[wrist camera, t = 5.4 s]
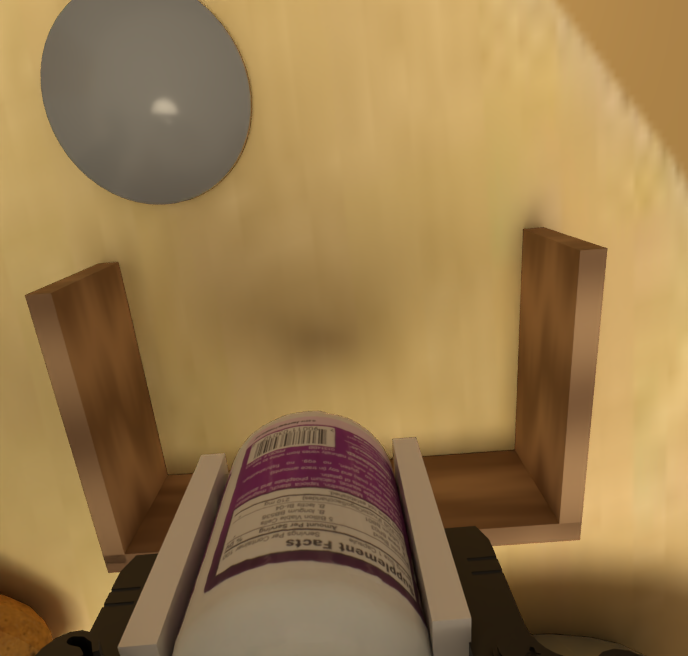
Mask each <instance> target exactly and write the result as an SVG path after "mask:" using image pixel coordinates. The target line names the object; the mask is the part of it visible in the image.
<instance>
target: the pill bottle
mask: <svg viewBox="0 0 688 656" xmlns="http://www.w3.org/2000/svg"><path fill="white" fill-rule="evenodd" d="M172 656H432V652H431V644H430V636H429V631H428V627H427V624H426V621H425V616H424V611H423V608H422V603H421V597H420V592H419V588H418V583H417V579H416V574H415V569H414V563H413V558H412V553H411V549H410V544H409V540H408V535H407V530H406V526H405V522H404V517H403V512H402V508H401V502H400V497H399V492H398V488H397V483H396V480H395V476H394V472H393V469H392V465H391V462H390V460H389V458H388V455H387V454H386V452H385V450H384V448H383V447H382V445H381V444H380V443H379V441H378V440H377V439H376V438H375V437H374V436H373V435H372V434H371V433H370V432H369V431H368V430H366V429H365V428H364V427H362V426H361V425H360V424H358V423H356V422H354V421H352V420H350V419H348V418H346V417H343V416H339V415H334V414H328V413H325V412H322V411H307V412H299V413H292V414H289V415H285V416H282V417H280V418H278V419H276V420H273V421H271V422H269V423H268V424H266V425H263V426H262V427H261V428H259V429H258V430H257V431H255V432H254V433H252V434H251V435H250V436H249V438H248V439H247V440H246V441H245V442H244V444H243V445H242V447H241V448H240V449H239V451H238V453H237V455H236V457H235V460H234V462H233V464H232V468H231V471H230V474H229V476H228V479H227V483H226V486H225V489H224V492H223V495H222V499H221V502H220V505H219V509H218V512H217V515H216V518H215V521H214V525H213V528H212V531H211V534H210V537H209V541H208V544H207V547H206V550H205V553H204V556H203V559H202V563H201V565H200V568H199V571H198V574H197V577H196V581H195V584H194V587H193V590H192V593H191V595H190V599H189V602H188V606H187V609H186V612H185V615H184V617H183V620H182V623H181V626H180V629H179V631H178V634H177V638H176V641H175V645H174V650H173V654H172Z"/></svg>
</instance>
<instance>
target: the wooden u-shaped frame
mask: <svg viewBox="0 0 688 656" xmlns="http://www.w3.org/2000/svg"><path fill="white" fill-rule="evenodd" d="M606 257H607V248H605V247H602V246H599V245H596V244H593V243H590V242H586V241H583V240H580V239H577V238H574V237H571V236H568V235H565V234H562V233H559V232H556V231H553V230H550V229H547V228H544V227H543V228H531V229H523V251H522V278H521V304H520V330H519V356H518V383H517V409H516V435H515V450H509V451H495V452H481V453H468V454H454V455H441V456H427V457H422V458H423V462H424V465H425V468H426V471H427V475H428V478H429V481H430V485H431V488H432V491H433V494H434V498H435V501H436V504H437V507H438V511H439V514H440V517H441V521H442V524H443V527H444V528H454V527H466V526H476V527H477V528H478V529H479V530H480V531H481V532H482V533H483V534H484V535H485V536H486V537H487V538H488V539H489V540H490V542H491V545H492V546H500V545H514V544H528V543H543V542H557V541H571V540H580V534H581V523H582V512H583V502H584V491H585V480H586V470H587V459H588V449H589V438H590V427H591V417H592V406H593V395H594V385H595V374H596V364H597V353H598V342H599V332H600V321H601V310H602V300H603V289H604V279H605V268H606ZM25 297H26V300H27V304H28V307H29V310H30V314H31V317H32V320H33V324H34V327H35V330H36V334H37V337H38V340H39V344H40V347H41V350H42V354H43V357H44V360H45V364H46V367H47V370H48V374H49V377H50V380H51V384H52V387H53V390H54V394H55V397H56V400H57V404H58V407H59V410H60V414H61V417H62V420H63V424H64V427H65V430H66V434H67V437H68V440H69V444H70V447H71V450H72V454H73V457H74V460H75V464H76V467H77V470H78V474H79V477H80V480H81V484H82V487H83V490H84V494H85V497H86V500H87V504H88V507H89V510H90V514H91V517H92V520H93V524H94V527H95V530H96V534H97V537H98V540H99V544H100V547H101V550H102V554H103V557H104V560H105V563H106V567H107V570H108V573H113V572H121V570H122V569H123V568H124V567H125V566H126V565H127V564H128V563H129V562H130V561H131V560H132V559H133V558H134V557H135V556H136V555H145V554H157V553H159V551H160V549H161V547H162V544H163V542H164V540H165V537H166V535H167V533H168V530H169V528H170V526H171V524H172V521H173V519H174V517H175V514H176V512H177V510H178V508H179V505H180V503H181V501H182V498H183V496H184V494H185V492H186V489H187V487H188V485H189V482H190V480H191V478H192V475H193V474H181V475H167V471H166V466H165V462H164V458H163V453H162V449H161V445H160V440H159V436H158V432H157V427H156V423H155V419H154V414H153V410H152V406H151V401H150V397H149V393H148V388H147V384H146V380H145V375H144V371H143V367H142V362H141V358H140V354H139V350H138V345H137V341H136V337H135V332H134V328H133V324H132V319H131V315H130V311H129V306H128V302H127V298H126V293H125V289H124V285H123V280H122V276H121V272H120V267H119V263H118V262H113V263H101V264H96V265H94V266H92V267H89V268H87V269H85V270H82V271H80V272H78V273H75V274H73V275H71V276H69V277H66V278H64V279H62V280H59V281H57V282H55V283H52V284H50V285H48V286H45V287H43V288H41V289H38V290H36V291H34V292H31V293H29V294H27V295H25ZM389 460H390V462H391V465H392V469H393V472H394V459H389ZM228 472H229V474H230V471H228Z"/></svg>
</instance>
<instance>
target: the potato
mask: <svg viewBox="0 0 688 656" xmlns="http://www.w3.org/2000/svg"><path fill="white" fill-rule="evenodd" d="M51 641H53V640H52V636H51V632H50V629H49V628H48V626H47V625H46V623H45V622H44V620H43V619H42V618H41V617H40V616H39V615H38V614H37V613H36V612H35V611H34V610H33V609H32V608H31V607H30V606H28V605H26V604H24V603H21V602H19V601H17V600H15V599H12V598H10V597H7V596H4V595H1V594H0V656H35V655H36V654H37V653H38V652H39V651H40V650H41V649H42V648H43V647H44V646H46V645H47V644H48V643H50V642H51Z"/></svg>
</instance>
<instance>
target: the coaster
mask: <svg viewBox="0 0 688 656" xmlns="http://www.w3.org/2000/svg"><path fill="white" fill-rule="evenodd" d="M41 90H42V97H43V103H44V107H45V110H46V114H47V117H48V120H49V122H50V125H51V127H52V130H53V132H54V134H55V136H56V138H57V140H58V141H59V143H60V145H61V146H62V148H63V149H64V151H65V152H66V154H67V155H68V157H69V158H70V159H71V160H72V161H73V162H74V164H75V165H76V166H77V167H78V168H79V169H80V170H81V171H82V172H83V173H84V174H85V175H86V176H87V177H88V178H90V179H91V180H92V181H94V182H95V183H96V184H98V185H99V186H101V187H102V188H104V189H106V190H108V191H109V192H111V193H113V194H115V195H118V196H120V197H122V198H125V199H128V200H132V201H135V202H140V203H146V204H171V203H177V202H181V201H185V200H189V199H192V198H195V197H197V196H200V195H202V194H204V193H205V192H207V191H209V190H210V189H212V188H213V187H215V186H216V185H217V184H218V183H220V182H221V181H222V180H223V179H224V178H225V177H226V176H227V175H228V174H229V173H230V171H231V170H232V169H233V167H234V166H235V164H236V163H237V161H238V160H239V158H240V156H241V154H242V152H243V150H244V147H245V144H246V141H247V139H248V135H249V130H250V126H251V117H252V95H251V88H250V82H249V78H248V74H247V70H246V67H245V64H244V62H243V59H242V57H241V54H240V52H239V50H238V48H237V47H236V45H235V43H234V41H233V39H232V38H231V36H230V35H229V34H228V32H227V31H226V29H225V28H224V27H223V25H222V24H221V23H220V22H219V21H218V20H217V19H216V17H215V16H214V15H213V14H212V13H211V12H210V11H209V10H208V9H207V8H206V7H205V6H203V5H202V4H201V3H200V2H199V1H198V0H72V1H71V2H69V3H68V4H67V5H66V6H65V8H64V9H63V10H62V12H61V13H60V14H59V16H58V17H57V18H56V20H55V22H54V24H53V26H52V28H51V29H50V32H49V34H48V37H47V40H46V43H45V46H44V51H43V55H42V62H41Z"/></svg>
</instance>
